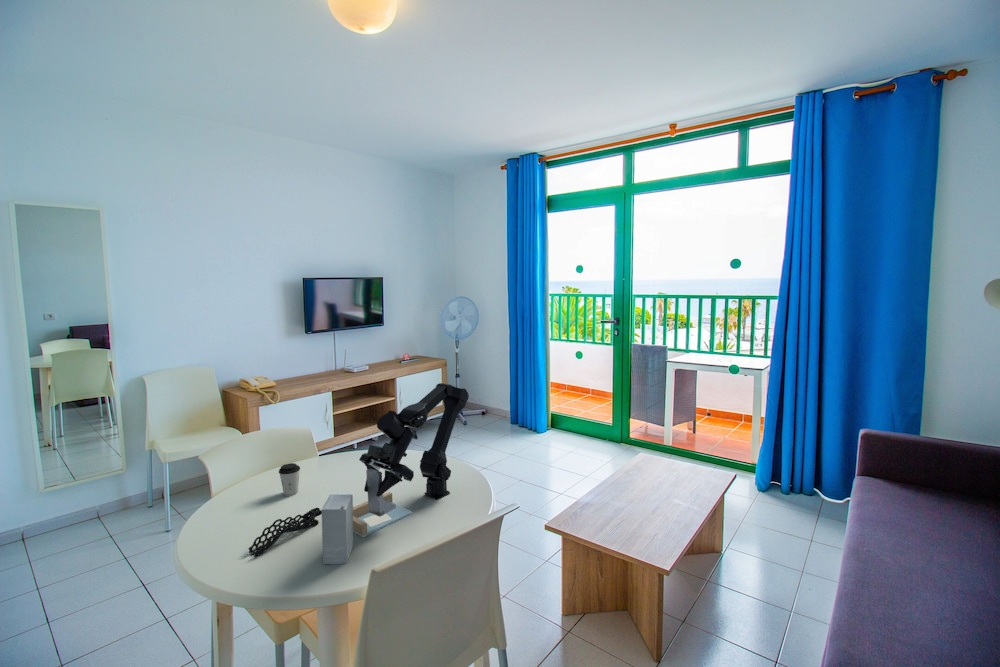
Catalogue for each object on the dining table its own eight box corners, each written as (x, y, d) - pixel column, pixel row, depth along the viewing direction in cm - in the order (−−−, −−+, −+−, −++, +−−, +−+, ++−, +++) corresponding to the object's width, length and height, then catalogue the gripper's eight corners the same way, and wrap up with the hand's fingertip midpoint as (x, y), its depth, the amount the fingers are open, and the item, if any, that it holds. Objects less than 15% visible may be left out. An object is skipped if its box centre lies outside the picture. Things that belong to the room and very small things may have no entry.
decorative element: (258, 560, 124) (256, 539, 124) (246, 555, 127) (245, 535, 126) (325, 522, 144) (324, 504, 143) (314, 518, 146) (313, 500, 145)
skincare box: (330, 547, 129) (327, 493, 127) (356, 546, 130) (353, 492, 128) (321, 566, 121) (317, 508, 119) (349, 564, 121) (346, 507, 119)
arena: (389, 502, 155) (389, 491, 155) (412, 513, 147) (411, 502, 147) (340, 523, 142) (340, 512, 141) (362, 537, 134) (362, 525, 133)
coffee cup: (305, 488, 166) (303, 462, 165) (295, 498, 159) (293, 470, 158) (287, 488, 167) (285, 461, 166) (276, 497, 160) (274, 469, 159)
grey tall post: (384, 503, 142) (382, 463, 140) (395, 508, 139) (393, 466, 137) (368, 512, 137) (366, 470, 135) (380, 516, 134) (377, 474, 133)
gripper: (362, 427, 142) (333, 474, 134) (404, 438, 131) (375, 490, 124) (383, 444, 149) (357, 490, 142) (425, 456, 139) (399, 506, 131)
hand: (371, 493), depth 134 cm, fingers closed on grey tall post, 5 cm apart
